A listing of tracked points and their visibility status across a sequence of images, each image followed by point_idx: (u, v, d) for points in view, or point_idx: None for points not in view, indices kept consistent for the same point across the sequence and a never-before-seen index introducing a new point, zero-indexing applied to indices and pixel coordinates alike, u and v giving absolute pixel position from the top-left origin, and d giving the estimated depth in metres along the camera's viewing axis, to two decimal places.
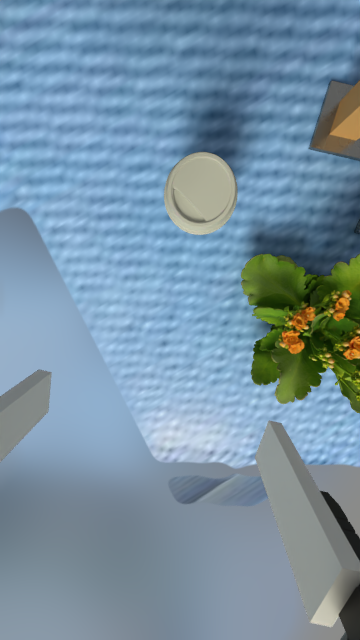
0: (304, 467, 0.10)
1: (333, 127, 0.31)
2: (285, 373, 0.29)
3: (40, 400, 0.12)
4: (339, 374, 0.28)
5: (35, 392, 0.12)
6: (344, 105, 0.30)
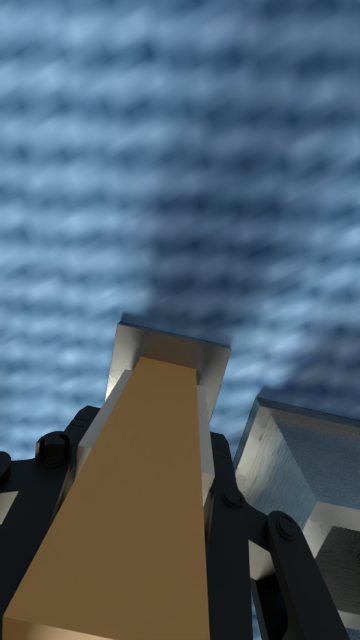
0: (207, 415, 0.12)
1: None
2: None
3: None
4: None
5: None
6: None
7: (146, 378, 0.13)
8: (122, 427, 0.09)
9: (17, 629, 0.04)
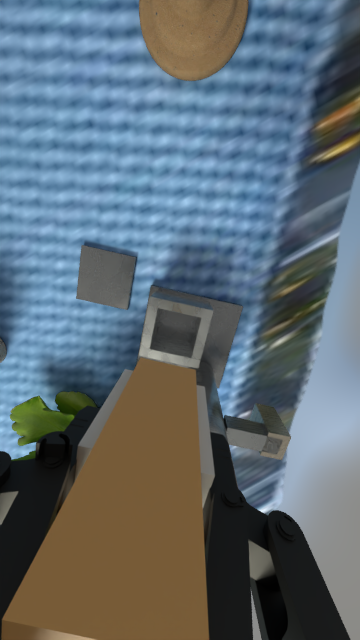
0: (207, 415, 0.12)
1: None
2: None
3: None
4: None
5: None
6: None
7: (146, 379, 0.13)
8: (122, 428, 0.09)
9: (16, 632, 0.04)
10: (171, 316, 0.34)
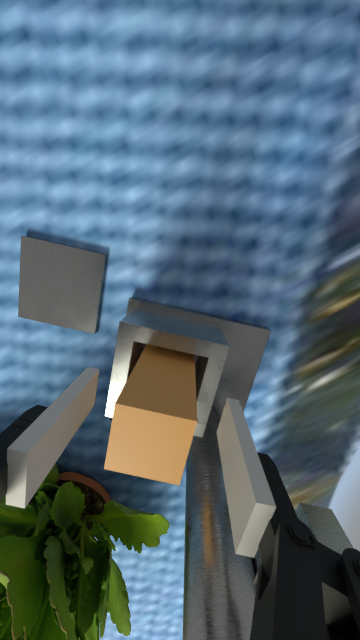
0: (249, 434, 0.12)
1: None
2: None
3: (91, 394, 0.14)
4: None
5: (89, 387, 0.13)
6: None
7: None
8: (149, 360, 0.16)
9: (119, 410, 0.11)
10: None
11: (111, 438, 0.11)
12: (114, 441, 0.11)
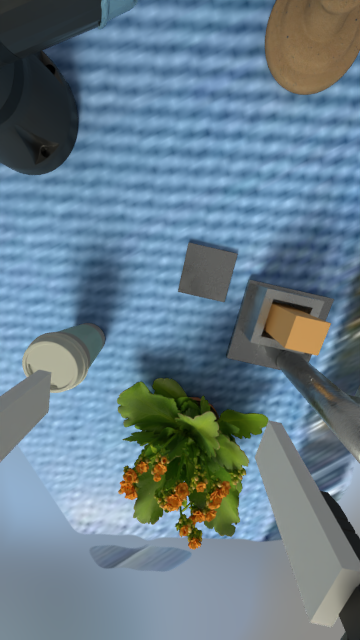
0: (304, 467, 0.10)
1: None
2: (142, 499, 0.34)
3: (40, 400, 0.12)
4: (183, 504, 0.33)
5: (35, 392, 0.12)
6: None
7: (274, 303, 0.34)
8: (284, 308, 0.30)
9: (298, 319, 0.25)
10: None
11: (291, 332, 0.26)
12: (292, 334, 0.26)
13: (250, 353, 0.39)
